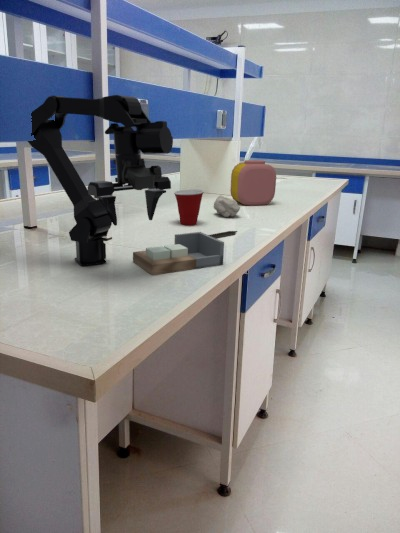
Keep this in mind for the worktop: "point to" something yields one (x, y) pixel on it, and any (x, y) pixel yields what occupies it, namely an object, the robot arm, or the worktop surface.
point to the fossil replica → (226, 206)
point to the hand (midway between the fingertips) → (133, 222)
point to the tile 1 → (157, 253)
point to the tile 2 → (177, 250)
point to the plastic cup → (189, 205)
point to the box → (202, 248)
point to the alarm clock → (253, 183)
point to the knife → (223, 234)
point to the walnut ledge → (164, 263)
